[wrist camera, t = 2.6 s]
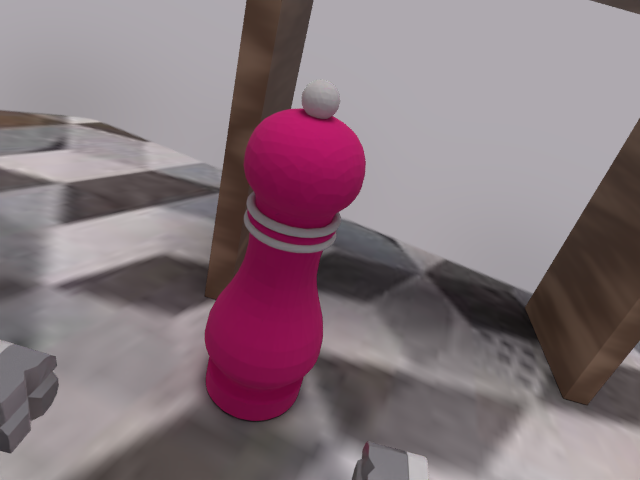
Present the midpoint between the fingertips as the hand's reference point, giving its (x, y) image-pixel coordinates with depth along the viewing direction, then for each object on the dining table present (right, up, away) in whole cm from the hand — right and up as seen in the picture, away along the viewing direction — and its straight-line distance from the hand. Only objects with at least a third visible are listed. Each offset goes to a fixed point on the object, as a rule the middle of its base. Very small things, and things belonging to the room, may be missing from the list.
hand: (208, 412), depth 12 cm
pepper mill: (-2, -5, +19) cm, 20 cm away
